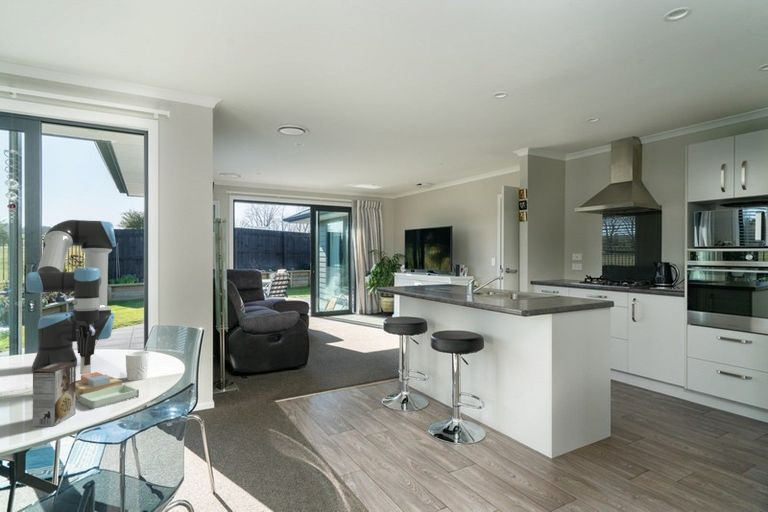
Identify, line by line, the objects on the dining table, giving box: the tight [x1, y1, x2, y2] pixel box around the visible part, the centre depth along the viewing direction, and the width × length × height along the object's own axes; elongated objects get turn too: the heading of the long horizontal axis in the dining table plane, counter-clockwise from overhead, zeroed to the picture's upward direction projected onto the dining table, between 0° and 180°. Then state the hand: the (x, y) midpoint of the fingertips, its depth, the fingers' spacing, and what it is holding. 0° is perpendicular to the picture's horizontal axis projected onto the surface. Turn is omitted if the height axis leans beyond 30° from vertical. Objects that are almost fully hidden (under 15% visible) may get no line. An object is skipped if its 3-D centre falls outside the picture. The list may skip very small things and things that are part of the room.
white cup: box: [125, 350, 150, 382], centre depth 161 cm, size 8×8×10 cm
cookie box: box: [31, 363, 77, 427], centre depth 120 cm, size 9×6×16 cm
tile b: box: [87, 374, 110, 386], centre depth 142 cm, size 5×5×2 cm
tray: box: [78, 383, 140, 410], centre depth 137 cm, size 10×14×2 cm
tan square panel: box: [76, 374, 123, 401], centre depth 144 cm, size 13×12×4 cm
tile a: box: [80, 371, 104, 383], centre depth 145 cm, size 5×5×2 cm
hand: (85, 373), depth 148 cm, fingers closed
